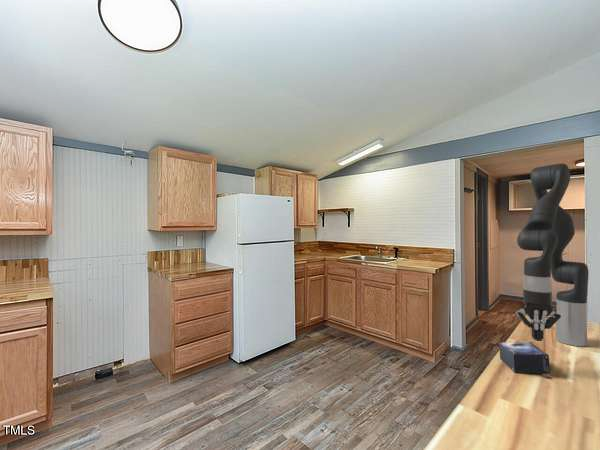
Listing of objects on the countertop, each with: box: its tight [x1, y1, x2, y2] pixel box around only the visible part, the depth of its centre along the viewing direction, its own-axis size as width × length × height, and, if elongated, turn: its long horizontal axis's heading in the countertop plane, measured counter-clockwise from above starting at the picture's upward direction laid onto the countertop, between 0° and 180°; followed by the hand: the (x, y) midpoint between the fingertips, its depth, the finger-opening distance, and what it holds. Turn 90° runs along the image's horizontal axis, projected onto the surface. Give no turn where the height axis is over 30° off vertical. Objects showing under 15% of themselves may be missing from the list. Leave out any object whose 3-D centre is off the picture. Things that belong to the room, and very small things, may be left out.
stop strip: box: [539, 373, 552, 380], centre depth 99 cm, size 14×2×1 cm, turn 167°
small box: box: [498, 341, 551, 374], centre depth 99 cm, size 11×6×10 cm
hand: (537, 340), depth 99 cm, fingers closed
